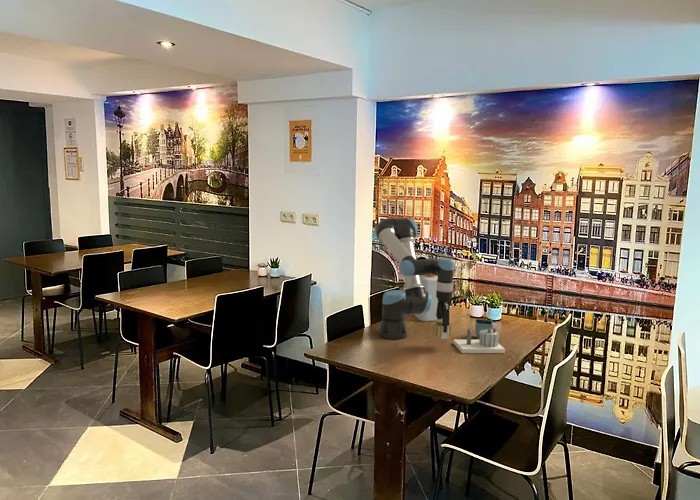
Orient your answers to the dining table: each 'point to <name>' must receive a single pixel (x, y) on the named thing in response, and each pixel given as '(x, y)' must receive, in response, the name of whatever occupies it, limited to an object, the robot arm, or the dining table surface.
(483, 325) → the flower pot
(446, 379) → the dining table surface
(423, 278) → the plastic bottle
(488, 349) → the gear board
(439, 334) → the brass gear
